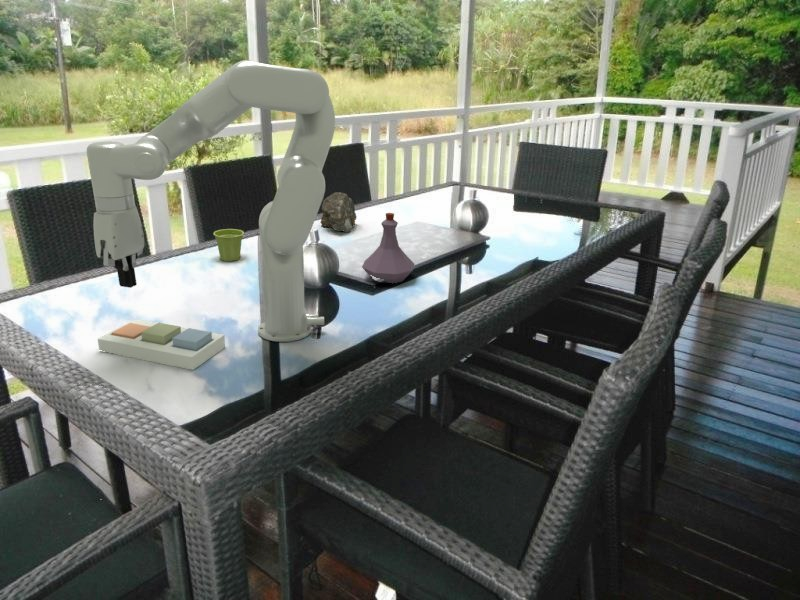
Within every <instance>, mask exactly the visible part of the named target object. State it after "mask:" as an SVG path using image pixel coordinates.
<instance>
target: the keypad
mask: <svg viewBox="0 0 800 600" xmlns="http://www.w3.org/2000/svg"><path fill="white" fill-rule="evenodd" d="M129 323H133V324H139V325H144V326H149V327H152V326H153V325H155V324H157V323H158V322H156V321H150V320H149V321H148V320H143V319H139V318H138V319H137V318H134V319H133V320H131V321H129V322H126V323H125V324H123V325H121V326H119V327H118V328H116V329H113V330H111V331H109V332H108V333H105V334H104V335H102V336H101V337H99V338H97V343H98V349H99V350H102V351H105V352H104V353H106V352H110V353H109V354H111V353H114V354H113V355H116V354H118V355H117V356H121V355H123V356H122V357H126V356H127V358H131V357H132V359H137V360H143V361H147V362H150V363H151V362H153V363H157V364H162V365H167V366H171V367H172V366H173V367H175V368H176V367H177V368H182V369H187V370H191V371H194V370H195V369H197V368H198V367H199V366H201V365H202V364H204V363H205V362H206V361H208V360H209V359H211V358H212V357H213V356H215V355H216V354H218V353H219V352H221V351H222V350H223V349H225V348H226V340H225V339H226V338H225V334H222V333H216V332H212V341H211V342H210V343H208V344H207V345H205V346H204V347H202V348H201V349H200V350H198V351H193V350H188V349H182V348H177V347H173V340H172V341H171V342H169V343H168V344H166V345H161V344H156V343H151V342H146V341H142V335H141V336H139V337H137V338H135V339H130V338H125V337H120V336H114V335H112V332H114V331H115V330H117V329H119V328H121V327H123V326H125V325H127V324H129ZM180 327H181V333H182V332H183V331H185V330H187V329H188V328H189V327H182V326H180ZM99 350H98V351H99Z"/></svg>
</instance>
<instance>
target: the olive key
mask: <svg viewBox="0 0 800 600" xmlns="http://www.w3.org/2000/svg"><path fill="white" fill-rule="evenodd" d="M156 323H157V324H155V325H153V326H152V327H150V328H148V329H146V330H144V331H143V332H141V335H142V341H146V342H151V343H156V344H161V345H166V344H168V343H169V342H171V341H172V340H173V339H172V338H173V337H175V336H177V335H178V334H180V333H181V327H182V326H179V325H175V324H169V323H163V322H156Z"/></svg>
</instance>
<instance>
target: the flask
mask: <svg viewBox="0 0 800 600" xmlns="http://www.w3.org/2000/svg"><path fill="white" fill-rule="evenodd" d="M394 216H395V213H394V212H387V213H386V212H385V220H383V221H382V222H381V227H382V228H383V229H382V231H383V232H382V236H381V240H380V243H379V246H378V247H377V248H376V249H375V250H374V251H373V253H371V254H370V255H368V257H367V258H366V259H365V260H364V262H363V263H362V265H361V268H362V269H363V270H364V272H366V274H367V275H368V274H369V275H372V276H374V277H376V278H380V279H384V280H385V281H386V282H388V283H392V284H391V285H394V284H393V283H395V284H399V283H402V282H403V281H405V279H407V277H409V275H410V274H411V273H412V272H413V271H414V269H415V262H414V261H413V260H411V258H409V256H408V255H407V254H406V253H405V252H404V251H403V250H402V248H401V247H400V246H399V242H398V237H397V234H396V233H397V231H396V228H397V227H398V224H399V222H398V221H396V220H395V219H394V218H395V217H394ZM369 275H368V276H369ZM398 282H399V283H398Z"/></svg>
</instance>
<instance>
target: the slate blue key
mask: <svg viewBox="0 0 800 600" xmlns="http://www.w3.org/2000/svg"><path fill="white" fill-rule="evenodd" d="M187 328H188V329H187V330H185V331H183V332H182V333H180V334H178V335H177V336H175V337H173V338H172V339H173V347H177V348H182V349H188V350H193V351H198V350H200V349H201V348H202V347H204V346H205V345H207V344H208V343H210V342H211V341H212V333H213V332H212V331H207V330H201V329H196V328H190V327H187Z"/></svg>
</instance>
